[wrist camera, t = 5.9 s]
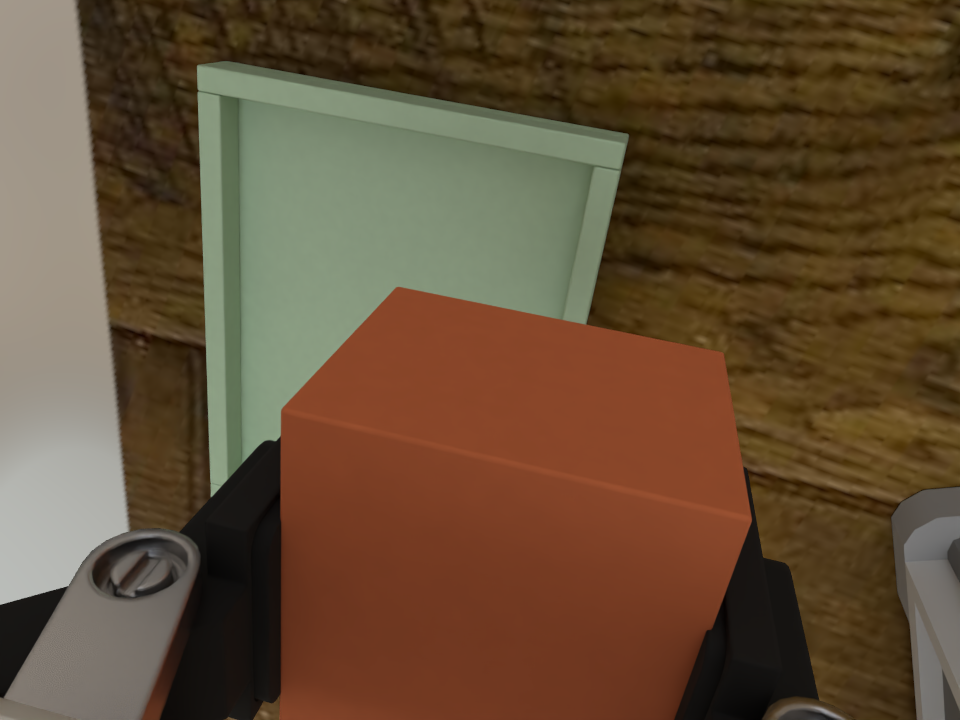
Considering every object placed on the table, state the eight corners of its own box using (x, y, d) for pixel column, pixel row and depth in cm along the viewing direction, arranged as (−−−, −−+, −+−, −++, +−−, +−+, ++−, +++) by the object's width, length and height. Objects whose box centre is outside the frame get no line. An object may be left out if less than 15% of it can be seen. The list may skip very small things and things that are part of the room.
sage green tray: (225, 60, 25) (195, 64, 23) (629, 133, 23) (626, 143, 22) (232, 474, 33) (210, 498, 31) (534, 553, 31) (528, 583, 29)
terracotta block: (396, 284, 12) (278, 408, 8) (724, 351, 11) (754, 519, 7) (373, 576, 14) (277, 765, 11) (634, 644, 14) (624, 870, 10)
